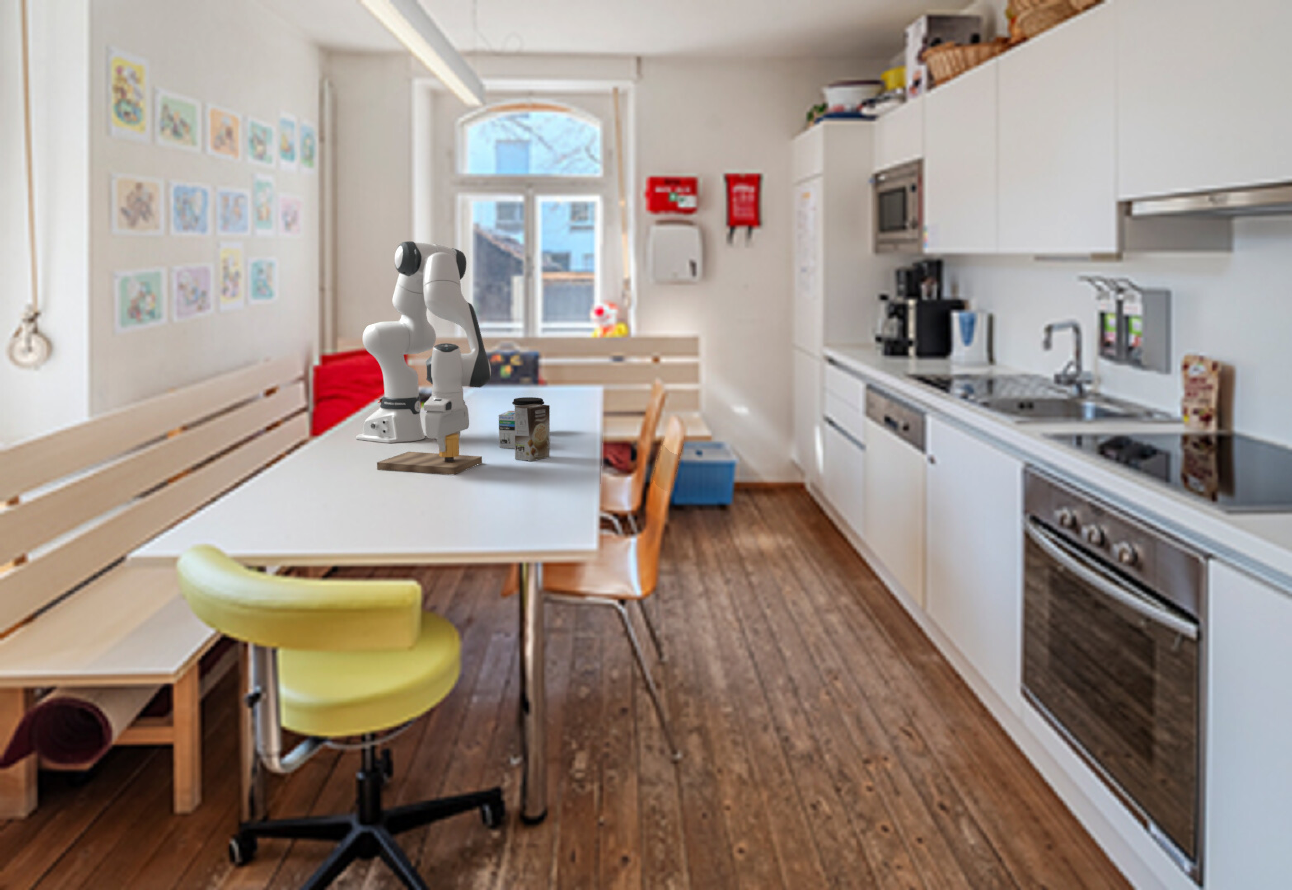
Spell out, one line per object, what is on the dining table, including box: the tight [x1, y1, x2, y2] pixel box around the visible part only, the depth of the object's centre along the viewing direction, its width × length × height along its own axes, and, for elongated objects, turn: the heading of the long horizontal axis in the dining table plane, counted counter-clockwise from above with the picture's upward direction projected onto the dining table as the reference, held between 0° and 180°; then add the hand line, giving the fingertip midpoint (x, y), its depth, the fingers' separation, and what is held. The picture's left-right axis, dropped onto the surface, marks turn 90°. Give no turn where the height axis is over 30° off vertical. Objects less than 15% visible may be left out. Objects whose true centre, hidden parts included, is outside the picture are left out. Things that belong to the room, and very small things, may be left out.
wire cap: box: [438, 433, 460, 457], centre depth 293 cm, size 6×6×6 cm
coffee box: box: [514, 404, 551, 462], centre depth 308 cm, size 9×6×16 cm
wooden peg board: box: [376, 451, 483, 475], centre depth 295 cm, size 24×18×6 cm
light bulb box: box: [498, 410, 515, 449], centre depth 329 cm, size 11×7×11 cm, turn 168°
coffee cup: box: [512, 396, 545, 407], centre depth 353 cm, size 11×11×12 cm
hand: (448, 449), depth 293 cm, fingers closed on wire cap, 5 cm apart
